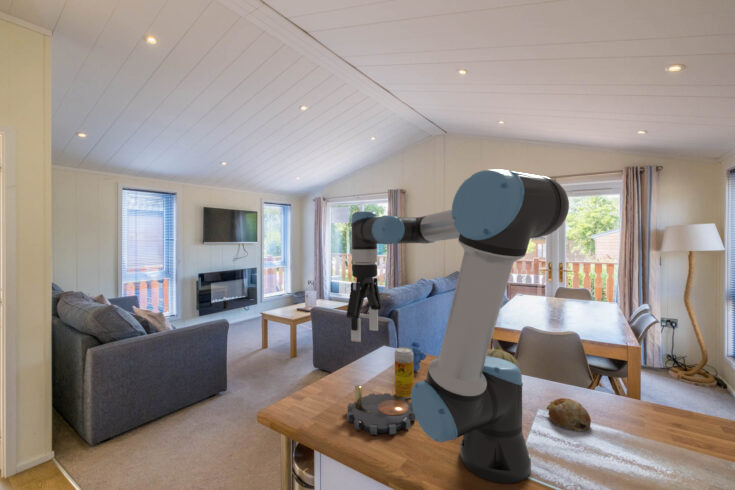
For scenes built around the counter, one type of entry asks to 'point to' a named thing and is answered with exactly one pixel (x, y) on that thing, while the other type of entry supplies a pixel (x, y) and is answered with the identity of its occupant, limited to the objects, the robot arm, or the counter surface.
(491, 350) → the cantaloupe
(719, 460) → the counter surface
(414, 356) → the grapes
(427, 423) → the robot arm
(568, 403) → the bread roll
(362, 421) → the sprocket
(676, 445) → the counter surface
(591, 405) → the counter surface
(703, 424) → the counter surface
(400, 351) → the beer can
